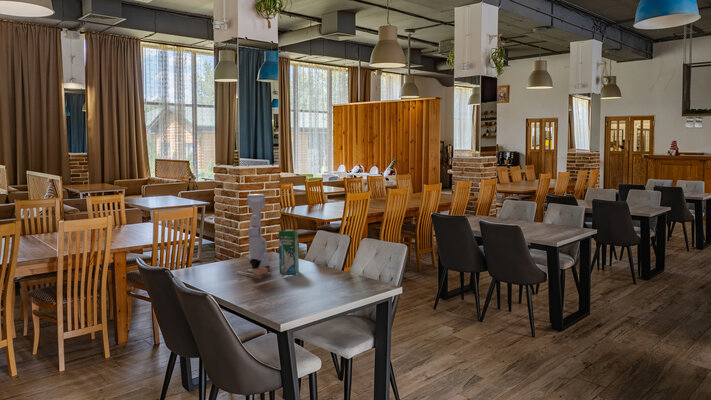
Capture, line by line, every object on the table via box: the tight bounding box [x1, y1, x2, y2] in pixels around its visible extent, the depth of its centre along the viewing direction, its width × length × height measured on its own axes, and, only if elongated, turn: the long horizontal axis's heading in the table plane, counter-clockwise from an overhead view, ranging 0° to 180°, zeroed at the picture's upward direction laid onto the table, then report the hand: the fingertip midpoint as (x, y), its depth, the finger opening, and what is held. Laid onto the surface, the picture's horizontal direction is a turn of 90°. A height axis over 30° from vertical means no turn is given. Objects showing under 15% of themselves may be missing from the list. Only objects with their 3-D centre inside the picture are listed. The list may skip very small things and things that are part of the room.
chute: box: [236, 268, 272, 279], centre depth 296 cm, size 11×18×2 cm, turn 53°
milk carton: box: [278, 228, 300, 276], centre depth 302 cm, size 9×9×25 cm
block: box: [252, 267, 269, 275], centre depth 293 cm, size 6×5×4 cm
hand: (255, 272), depth 295 cm, fingers closed
